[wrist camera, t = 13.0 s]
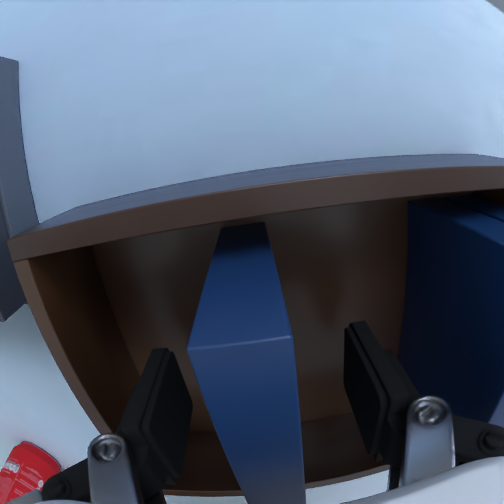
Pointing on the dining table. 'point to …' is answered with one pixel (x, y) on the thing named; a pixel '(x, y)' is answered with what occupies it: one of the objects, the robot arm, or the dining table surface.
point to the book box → (194, 275)
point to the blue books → (456, 304)
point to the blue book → (250, 367)
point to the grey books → (12, 188)
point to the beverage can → (25, 471)
